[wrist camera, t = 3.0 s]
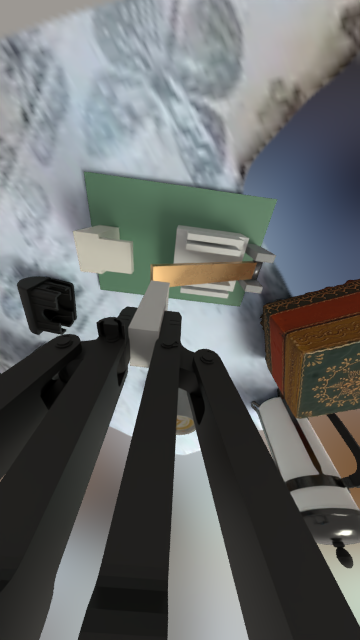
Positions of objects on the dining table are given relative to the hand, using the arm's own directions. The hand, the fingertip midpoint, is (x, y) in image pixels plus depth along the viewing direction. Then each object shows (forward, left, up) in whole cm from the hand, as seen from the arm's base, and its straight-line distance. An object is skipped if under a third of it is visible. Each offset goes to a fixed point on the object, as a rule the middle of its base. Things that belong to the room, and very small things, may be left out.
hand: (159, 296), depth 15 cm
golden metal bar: (+5, 0, -9) cm, 11 cm away
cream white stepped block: (-9, 0, -18) cm, 20 cm away
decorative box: (+30, -12, -20) cm, 38 cm away
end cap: (-24, -13, -20) cm, 33 cm away
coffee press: (+36, -40, -20) cm, 58 cm away
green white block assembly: (0, 0, -19) cm, 19 cm away
